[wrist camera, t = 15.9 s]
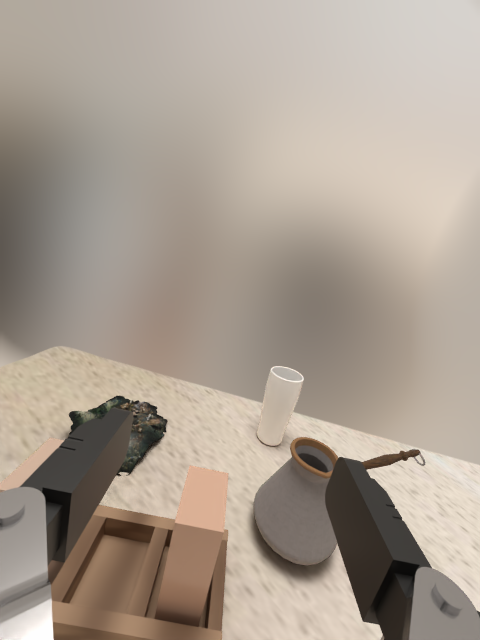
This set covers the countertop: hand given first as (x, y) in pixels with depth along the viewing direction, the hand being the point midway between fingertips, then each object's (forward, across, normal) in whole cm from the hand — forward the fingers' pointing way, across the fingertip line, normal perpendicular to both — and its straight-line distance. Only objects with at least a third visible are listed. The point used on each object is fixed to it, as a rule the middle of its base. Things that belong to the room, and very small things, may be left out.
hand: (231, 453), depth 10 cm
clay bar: (+11, 0, +26) cm, 28 cm away
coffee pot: (+21, -18, +28) cm, 39 cm away
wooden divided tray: (+11, +7, +28) cm, 30 cm away
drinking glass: (+40, -12, +28) cm, 50 cm away
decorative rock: (+33, +16, +28) cm, 46 cm away
